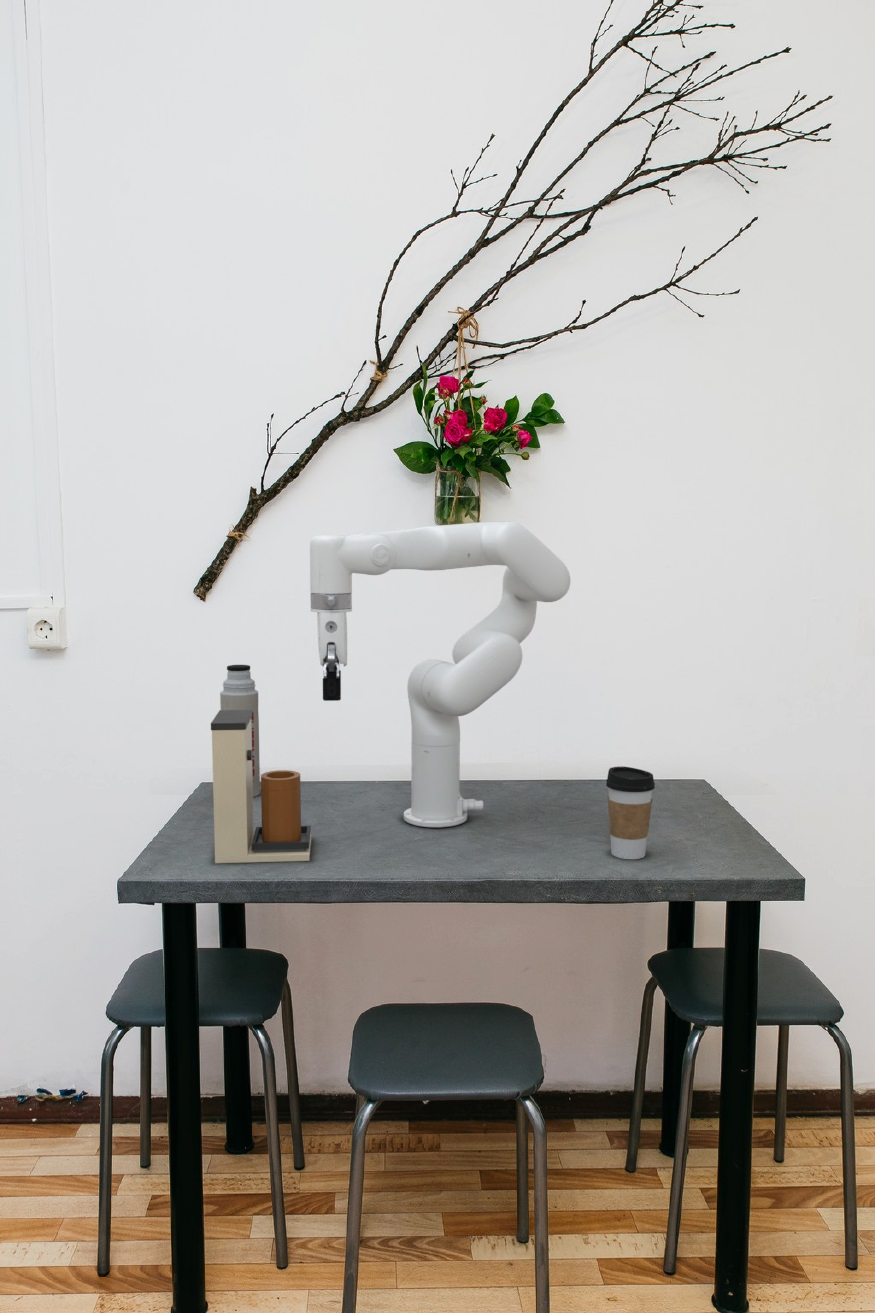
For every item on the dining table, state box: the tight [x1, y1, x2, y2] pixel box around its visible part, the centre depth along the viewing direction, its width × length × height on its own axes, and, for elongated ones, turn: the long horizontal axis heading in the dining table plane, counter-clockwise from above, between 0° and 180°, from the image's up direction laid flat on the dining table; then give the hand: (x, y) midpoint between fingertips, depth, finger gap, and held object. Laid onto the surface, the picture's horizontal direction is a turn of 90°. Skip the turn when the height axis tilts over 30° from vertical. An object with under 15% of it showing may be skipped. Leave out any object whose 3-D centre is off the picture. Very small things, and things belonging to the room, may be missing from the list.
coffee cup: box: [605, 765, 656, 860], centre depth 174 cm, size 8×8×15 cm
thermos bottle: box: [219, 664, 261, 798], centre depth 212 cm, size 8×8×28 cm
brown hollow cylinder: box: [260, 769, 302, 842], centre depth 175 cm, size 7×7×12 cm
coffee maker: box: [210, 709, 312, 864], centre depth 174 cm, size 16×12×24 cm
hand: (332, 695), depth 182 cm, fingers open, 9 cm apart
